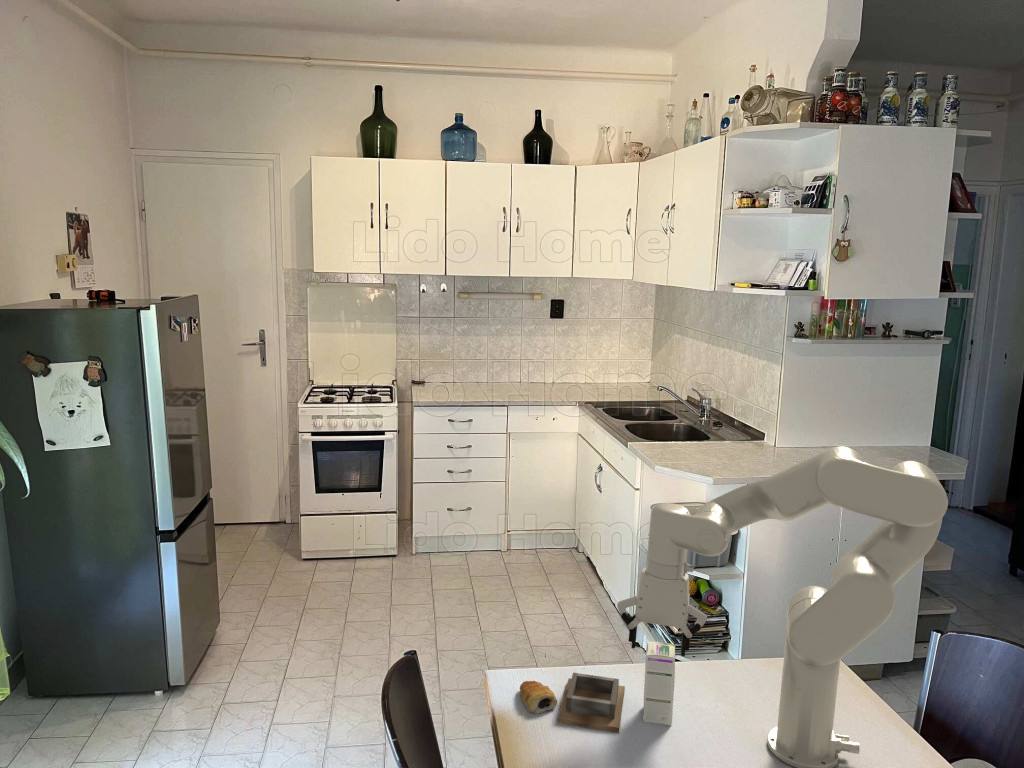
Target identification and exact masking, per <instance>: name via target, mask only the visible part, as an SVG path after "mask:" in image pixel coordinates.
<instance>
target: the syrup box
mask: <svg viewBox="0 0 1024 768" xmlns="http://www.w3.org/2000/svg"><path fill="white" fill-rule="evenodd" d="M644 665H645V666H644V667H645V668H644V689H643V690H644V692H643V708H642V709H643V712H642V713H643V714H642V716H643V717H642V721H643V722H645V723H650V724H655V725H663V726H670V727H671V726H673V725H672V724H673V712H674V711H673V709H674V695H675V675H676V673H675V671H676V668H675V667H676V644H673V643H669V642H662V641H649V640H648V641H647V642H646V650H645V664H644Z"/></svg>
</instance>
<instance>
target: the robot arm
mask: <svg viewBox="0 0 1024 768" xmlns="http://www.w3.org/2000/svg"><path fill="white" fill-rule="evenodd" d="M944 488H945V487H944V486H943V484H941V482H940V480H939V478H938V477H937V475H936V474H935V472H933V470H932V469H931V468H930V467H929V466H928V465H925V464H924V463H921V462H918V461H916V460H906V461H902V462H899V463H897V464H896V465H894V466H893V467H892V468H891V469H888V468H885V467H881V466H877V465H874V464H871V463H868V462H866V461H865V460H864V458H863V457H862V455H861V454H859V453H858V452H857V451H856V450H855V449H853V448H850V447H848V446H843V445H842V446H834V447H831V448H827V449H826V450H824V451H821V452H820V453H817V454H815V455H813V456H811V457H809V458H807V459H804V460H803V461H801V462H799V463H796V464H794V465H792V466H790V467H788V468H786V469H784V470H781V471H780V472H778V473H775V474H774V475H773V474H772V475H771V476H768V477H767V478H763V479H760V480H757V481H755V482H751V483H748V484H745V485H742V486H739V487H737V488H735V489H732V490H731V491H728V492H725V493H724V494H722V495H720V496H718V497H715V498H713V499H711V500H709V501H707V502H706V503H704V504H703V505H701V506H700V507H699V509H697V511H696V513H695V514H693V515H692V514H691V512H690V510H689V509H688V508H687V507H686V506H683V505H681V504H677V503H673V502H661V503H657V504H656V505H654V506H653V507H652V508H651V512H650V522H649V534H648V543H647V552H646V563H645V567H643V568H642V569H641V573H640V575H639V580H638V585H637V592H636V596H632V597H630V598H629V597H628V598H626V599H623V600H620V601H618V602H617V604H616V608H617V609H618V612H619V614H620V616H621V619H622V620H623V621H624V623H625V624H626V625H627V626H628V628H629V630H628V631H629V632H628V642H629V643H631V649H635V648H636V643H637V642H636V641H637V634H638V633H637V632H638V625H639V624H640V623H648V624H653V625H659V626H666V627H672V628H679V629H680V630H681V631H682V634H681V635H682V636H681V646H680V656H681V657H684V658H685V656H686V652H687V651H688V652H689V651H690V643H691V638H692V637H693V635H695V634H696V633H698V632H699V631H700V630H701V629H702V627H703V626H704V625H705V623H706V622H707V621H708V615H707V614H706V613H704V612H703V611H701V610H700V609H698V608H697V607H695V606H694V605H692V604H691V603H690V578H689V577H690V576H689V574H688V573H694V567H695V566H694V565H692V564H690V563H688V561H687V559H688V551H690V552H693V553H695V554H698V555H701V556H705V557H717V556H720V555H721V554H723V553H724V552H725V551H726V550H727V548H728V547H729V544H730V540H731V536H732V534H733V533H735V532H736V531H739V530H741V529H743V528H746V527H748V526H750V525H753V524H755V523H758V522H760V521H761V522H762V521H765V520H778V521H784V522H785V521H787V522H789V521H793V520H796V519H798V518H800V517H802V516H804V515H806V514H809V513H811V512H813V511H816V510H818V509H820V508H822V507H824V506H826V505H829V504H832V505H833V506H836V507H838V508H841V509H844V510H846V511H849V512H853V513H857V514H860V515H864V516H867V517H871V518H875V519H880V520H881V521H880V522H879V524H878V525H877V526H875V528H874V529H873V530H872V531H871V532H869V534H868V535H866V536H865V537H864V538H863V539H862V540H861V541H859V543H857V544H856V545H855V546H854V547H853V548H851V550H850V551H848V552H847V553H845V555H843V556H842V557H841V558H840V559H839V560H837V562H836V563H835V564H834V566H833V568H832V571H831V585H832V586H831V587H829V588H825V587H823V586H818V585H808V586H805V587H802V588H800V589H799V590H797V591H796V592H795V593H794V594H793V595H792V596H791V598H790V600H789V603H788V605H787V613H786V626H785V627H786V628H785V642H784V652H783V662H782V663H783V665H782V675H781V682H780V683H781V686H780V695H779V705H778V716H777V717H778V718H777V725H776V726H775V727H774V728H772V729H771V730H770V731H769V733H768V734H767V740H766V741H767V746H768V748H769V750H770V752H771V753H772V754H773V755H774V756H775V757H776V758H778V759H779V760H780V761H782V762H784V763H785V764H787V765H789V766H792V767H794V768H834V767H836V766H837V765H838V763H839V760H840V753H842V752H847V753H852V754H858V755H859V754H860V743H859V742H856V741H850V735H849V734H843V733H836V732H835V731H834V730H833V729H834V720H835V710H836V701H837V691H838V684H839V683H838V682H839V676H840V664H841V659H842V658H843V657H845V656H846V655H848V654H849V653H850V652H851V651H852V650H854V649H855V648H856V647H857V646H859V645H860V644H861V643H862V642H864V641H865V640H866V639H867V638H869V637H870V636H871V635H872V634H874V633H875V631H877V630H878V629H879V628H880V627H882V626H883V624H885V622H887V620H888V619H889V617H890V616H891V615H892V612H893V610H894V607H895V604H896V593H895V589H894V587H895V585H896V584H897V583H898V582H899V581H900V580H901V579H902V578H903V577H904V576H906V575H907V574H908V573H909V572H910V570H912V569H913V568H914V567H915V566H916V565H917V564H918V563H919V562H920V561H921V560H922V559H923V558H925V557H926V555H927V554H928V553H929V552H930V550H931V549H932V547H933V546H934V544H935V543H936V541H937V538H938V536H939V533H940V531H941V528H942V523H943V517H944V516H945V514H946V512H947V510H948V507H949V500H948V499H949V498H948V495H947V492H946V490H945V489H944ZM633 606H635V612H634V614H633V615H631V614H630V613H629V612H628V608H630V607H633ZM689 614H690V615H691V616H692V617H694V618H695V619H696V621H693V623H692V624H690V623H689V622H688V619H689Z"/></svg>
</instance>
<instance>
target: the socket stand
mask: <svg viewBox="0 0 1024 768" xmlns="http://www.w3.org/2000/svg"><path fill="white" fill-rule="evenodd" d="M619 682H620V678H616V677H615V678H613V677H609V676H608V677H607V676H602V675H600V676H599V675H593V674H586V673H579V672H572V676H571V677H570V678H568V679H567V683H566V687H565V691H564V694H563V698H562V702H561V705H560V709H559V712H558V717H557V724H561V725H562V724H563V725H569V726H576V727H580V728H589V729H595V730H600V731H601V730H602V731H607V732H614V733H620V728H621V720H622V712H623V706H624V697H625V689H626V686H625V685H619V684H620V683H619Z"/></svg>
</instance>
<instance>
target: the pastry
mask: <svg viewBox="0 0 1024 768" xmlns="http://www.w3.org/2000/svg"><path fill="white" fill-rule="evenodd" d="M519 690H520V692H519V694H520V697H521V701H522V702H523V704H524V705H525V708H526V709H527V711H528V712H529V713H531V714H542V713H543V712H546V711H550V710H553V709H554V708H556V707H557V706H558V699H557V697H556V695H555V693H554V691H552V690H551V688H550V687H549V686H548V685H544V684H542V682H540V681H536V680H532V681H531V680H526V681H525V680H524V681H523V682H522V683H521V684H520V686H519Z"/></svg>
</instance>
